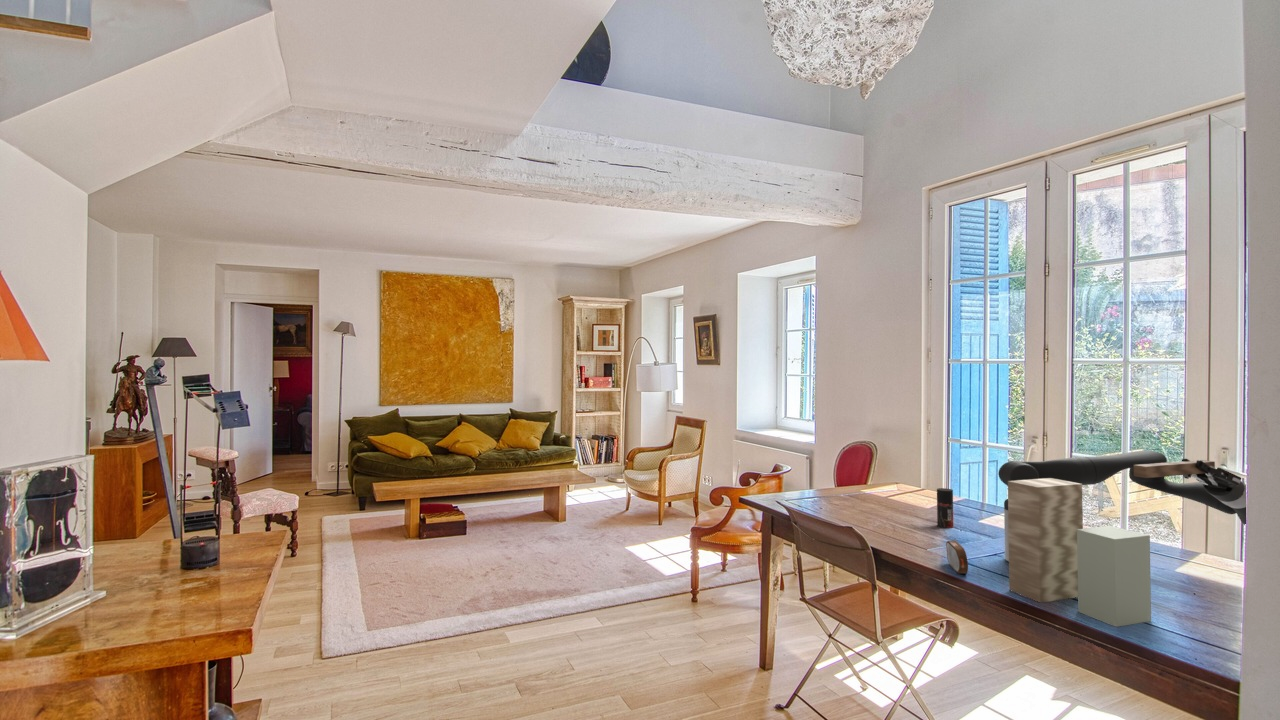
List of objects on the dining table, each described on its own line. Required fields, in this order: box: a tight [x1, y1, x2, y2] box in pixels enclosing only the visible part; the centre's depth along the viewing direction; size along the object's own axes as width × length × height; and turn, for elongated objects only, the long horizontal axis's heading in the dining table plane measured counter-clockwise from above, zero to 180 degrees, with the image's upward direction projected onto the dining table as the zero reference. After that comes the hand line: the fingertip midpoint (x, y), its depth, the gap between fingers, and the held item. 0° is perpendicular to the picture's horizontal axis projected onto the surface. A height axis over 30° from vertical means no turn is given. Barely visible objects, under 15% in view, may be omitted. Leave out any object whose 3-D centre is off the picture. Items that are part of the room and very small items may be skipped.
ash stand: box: [1007, 478, 1084, 603], centre depth 180 cm, size 16×10×32 cm, turn 106°
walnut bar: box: [1134, 459, 1216, 478], centre depth 170 cm, size 26×3×3 cm, turn 106°
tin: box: [945, 539, 969, 575], centre depth 201 cm, size 15×3×8 cm, turn 168°
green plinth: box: [1077, 525, 1152, 628], centre depth 163 cm, size 12×10×22 cm
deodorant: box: [936, 487, 954, 529], centre depth 255 cm, size 6×6×15 cm
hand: (1190, 462), depth 171 cm, fingers closed on walnut bar, 3 cm apart
